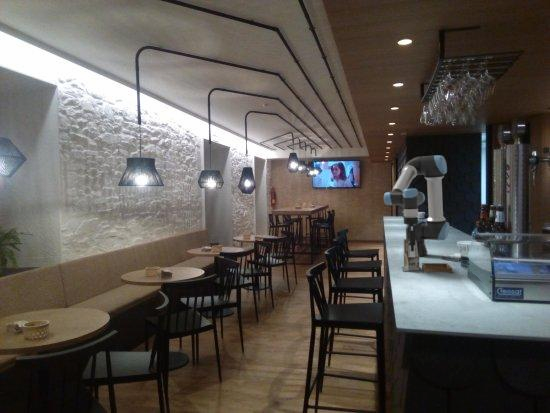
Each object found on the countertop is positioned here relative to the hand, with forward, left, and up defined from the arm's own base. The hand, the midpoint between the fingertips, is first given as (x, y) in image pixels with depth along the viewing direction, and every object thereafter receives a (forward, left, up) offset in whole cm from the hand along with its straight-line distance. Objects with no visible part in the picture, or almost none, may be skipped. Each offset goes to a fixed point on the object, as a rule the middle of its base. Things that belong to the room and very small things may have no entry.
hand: (411, 255), depth 236 cm
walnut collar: (0, +13, -8) cm, 15 cm away
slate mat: (0, 0, -8) cm, 8 cm away
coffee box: (0, 0, -8) cm, 8 cm away
